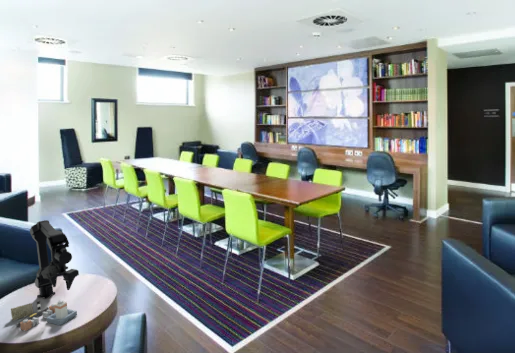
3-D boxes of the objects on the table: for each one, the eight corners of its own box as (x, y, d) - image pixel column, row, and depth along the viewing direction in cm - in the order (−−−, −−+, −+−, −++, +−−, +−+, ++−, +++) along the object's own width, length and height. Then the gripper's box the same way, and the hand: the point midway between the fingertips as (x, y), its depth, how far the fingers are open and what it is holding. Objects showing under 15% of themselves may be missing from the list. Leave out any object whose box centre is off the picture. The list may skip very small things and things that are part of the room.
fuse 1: (21, 329, 167) (20, 321, 166) (27, 326, 170) (26, 318, 169) (25, 330, 166) (24, 322, 165) (31, 327, 169) (30, 319, 168)
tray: (46, 322, 173) (46, 317, 173) (63, 312, 182) (63, 307, 182) (60, 325, 170) (60, 321, 170) (77, 315, 179) (76, 310, 179)
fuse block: (16, 326, 169) (16, 321, 169) (47, 309, 184) (46, 305, 184) (27, 329, 167) (27, 324, 167) (57, 312, 182) (57, 307, 181)
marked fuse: (55, 318, 175) (54, 302, 174) (62, 314, 178) (60, 299, 177) (61, 320, 174) (60, 304, 172) (68, 316, 177) (66, 300, 176)
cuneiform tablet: (41, 315, 180) (12, 323, 173) (40, 313, 184) (11, 321, 176) (39, 300, 180) (10, 308, 173) (38, 299, 184) (10, 306, 176)
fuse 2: (49, 313, 181) (48, 305, 180) (54, 310, 184) (54, 302, 183) (54, 314, 180) (53, 306, 179) (59, 311, 183) (58, 303, 182)
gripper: (29, 261, 174) (32, 292, 176) (58, 267, 167) (61, 299, 170) (49, 253, 184) (52, 282, 186) (78, 258, 177) (81, 288, 180)
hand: (61, 288), depth 180 cm, fingers open, 9 cm apart
